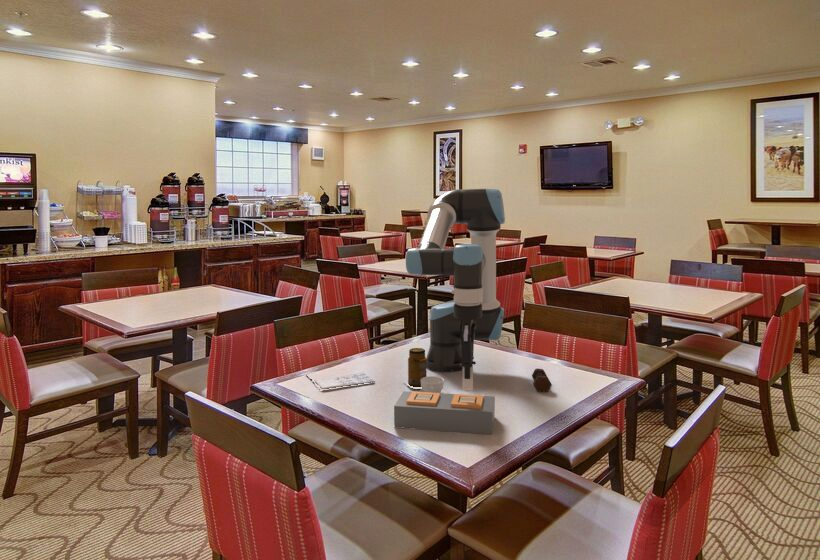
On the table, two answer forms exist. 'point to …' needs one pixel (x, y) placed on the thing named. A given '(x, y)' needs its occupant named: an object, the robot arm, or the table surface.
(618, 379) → the table surface
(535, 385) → the hex dumbbell
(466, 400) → the peg
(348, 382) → the bicycle print napkin
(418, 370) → the condiment
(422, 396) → the peg
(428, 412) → the block
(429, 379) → the teacup
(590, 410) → the table surface
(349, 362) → the table surface
